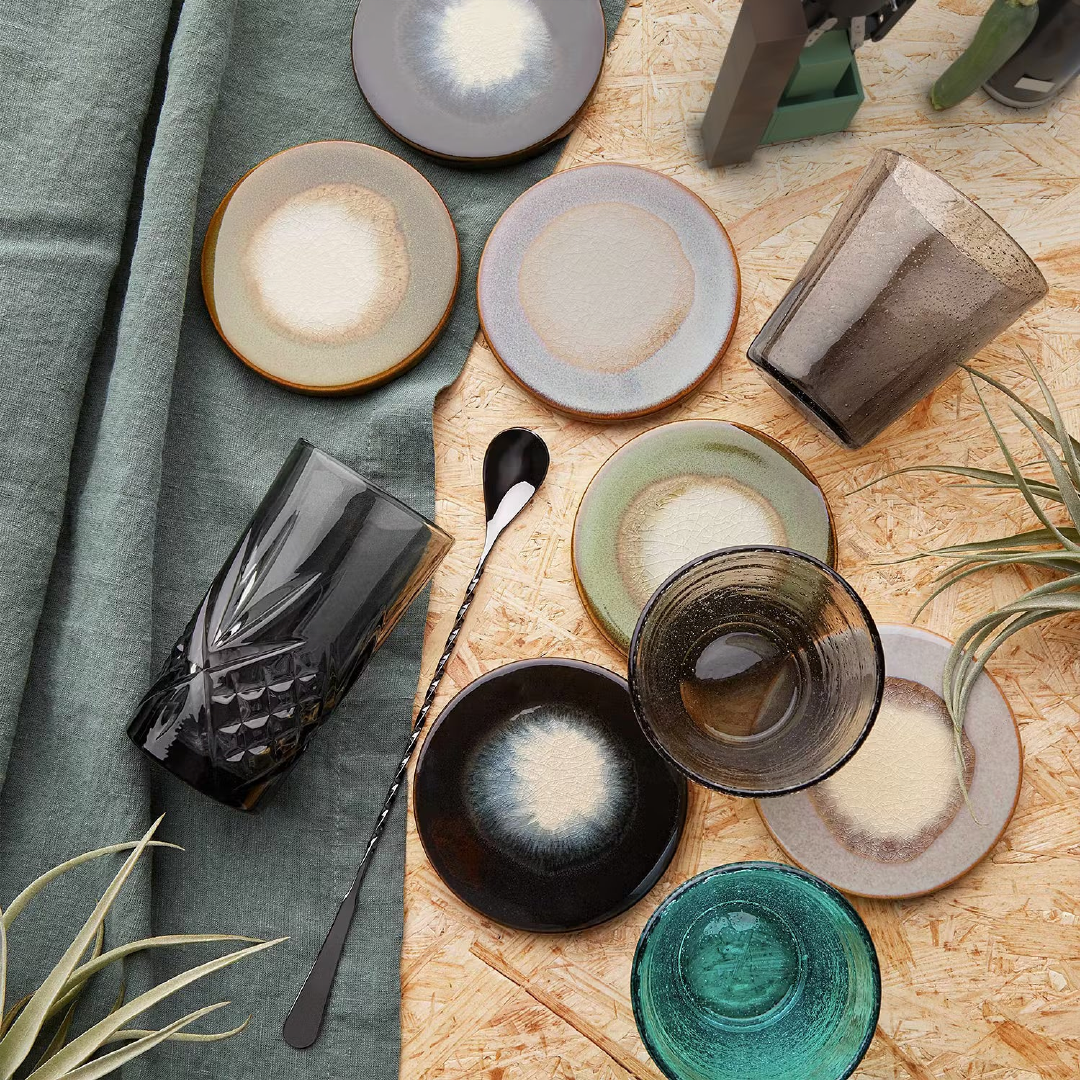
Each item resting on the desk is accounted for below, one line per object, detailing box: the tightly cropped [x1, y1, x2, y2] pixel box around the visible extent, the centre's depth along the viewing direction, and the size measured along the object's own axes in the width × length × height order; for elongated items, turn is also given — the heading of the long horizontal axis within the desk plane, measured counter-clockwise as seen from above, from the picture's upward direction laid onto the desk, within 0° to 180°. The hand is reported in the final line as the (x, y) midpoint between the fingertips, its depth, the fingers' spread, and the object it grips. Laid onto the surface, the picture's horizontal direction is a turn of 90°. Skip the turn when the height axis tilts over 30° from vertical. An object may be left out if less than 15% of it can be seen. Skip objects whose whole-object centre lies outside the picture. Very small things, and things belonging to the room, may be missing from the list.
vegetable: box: [929, 0, 1039, 110], centre depth 86 cm, size 4×4×20 cm
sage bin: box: [758, 53, 866, 146], centre depth 93 cm, size 9×9×6 cm
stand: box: [699, 0, 809, 170], centre depth 85 cm, size 4×4×20 cm
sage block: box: [784, 30, 852, 98], centre depth 89 cm, size 5×5×5 cm
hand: (806, 68), depth 91 cm, fingers closed on sage block, 5 cm apart
